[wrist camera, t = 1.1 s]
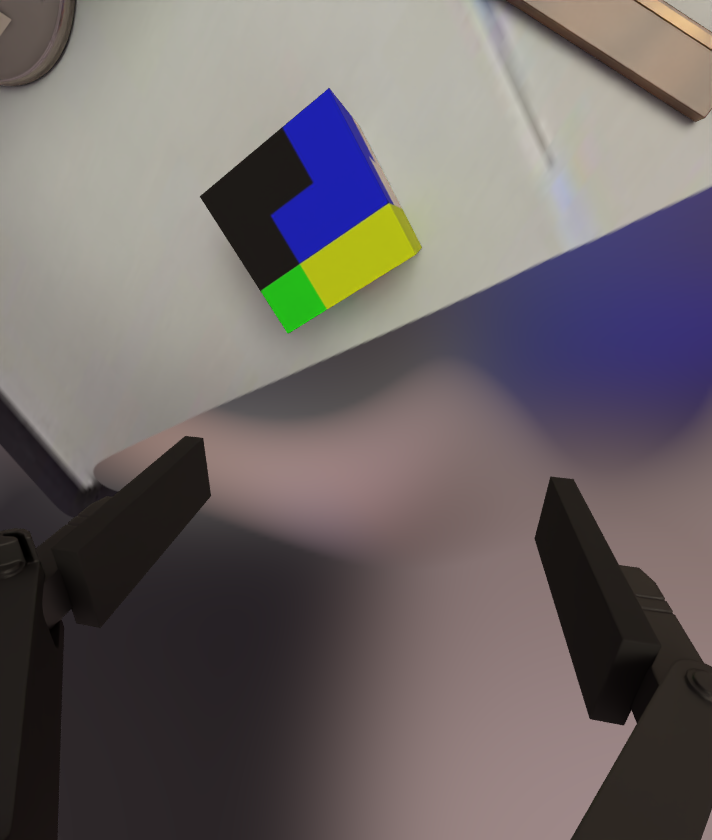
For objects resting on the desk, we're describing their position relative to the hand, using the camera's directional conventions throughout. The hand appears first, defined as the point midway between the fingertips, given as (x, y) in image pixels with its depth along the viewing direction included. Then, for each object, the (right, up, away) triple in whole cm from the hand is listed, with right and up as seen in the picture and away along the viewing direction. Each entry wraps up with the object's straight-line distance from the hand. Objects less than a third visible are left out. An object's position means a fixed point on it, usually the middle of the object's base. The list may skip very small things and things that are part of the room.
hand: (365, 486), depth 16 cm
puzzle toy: (-2, +19, +20) cm, 27 cm away
